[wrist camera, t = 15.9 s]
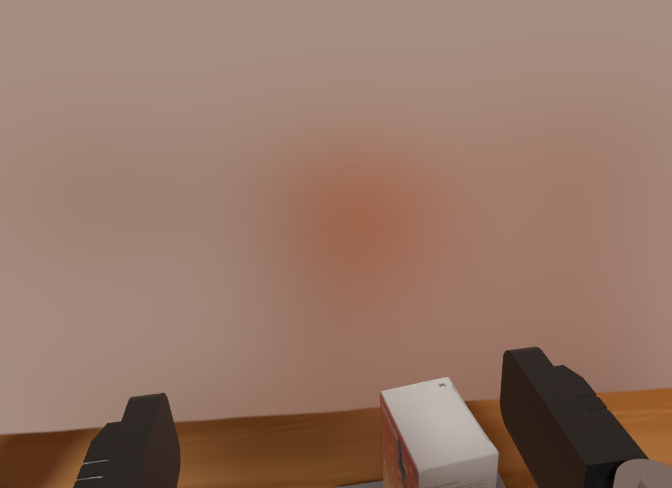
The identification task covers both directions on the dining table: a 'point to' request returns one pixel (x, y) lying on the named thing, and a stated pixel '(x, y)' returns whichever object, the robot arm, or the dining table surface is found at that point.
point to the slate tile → (378, 486)
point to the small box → (433, 439)
